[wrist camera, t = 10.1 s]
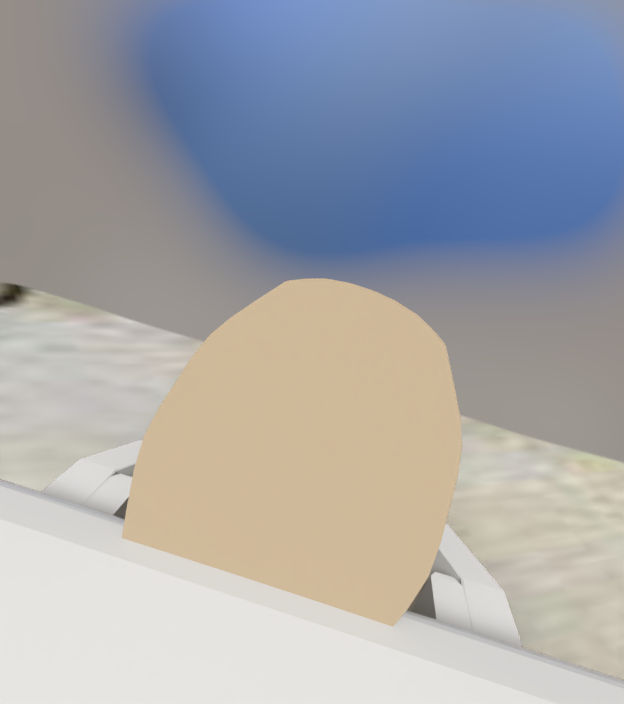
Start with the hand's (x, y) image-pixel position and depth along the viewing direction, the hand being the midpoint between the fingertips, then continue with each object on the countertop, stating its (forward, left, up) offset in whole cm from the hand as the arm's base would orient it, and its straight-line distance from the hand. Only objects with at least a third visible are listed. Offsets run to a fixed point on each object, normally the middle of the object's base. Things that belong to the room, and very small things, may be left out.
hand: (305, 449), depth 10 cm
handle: (0, +1, -10) cm, 10 cm away
